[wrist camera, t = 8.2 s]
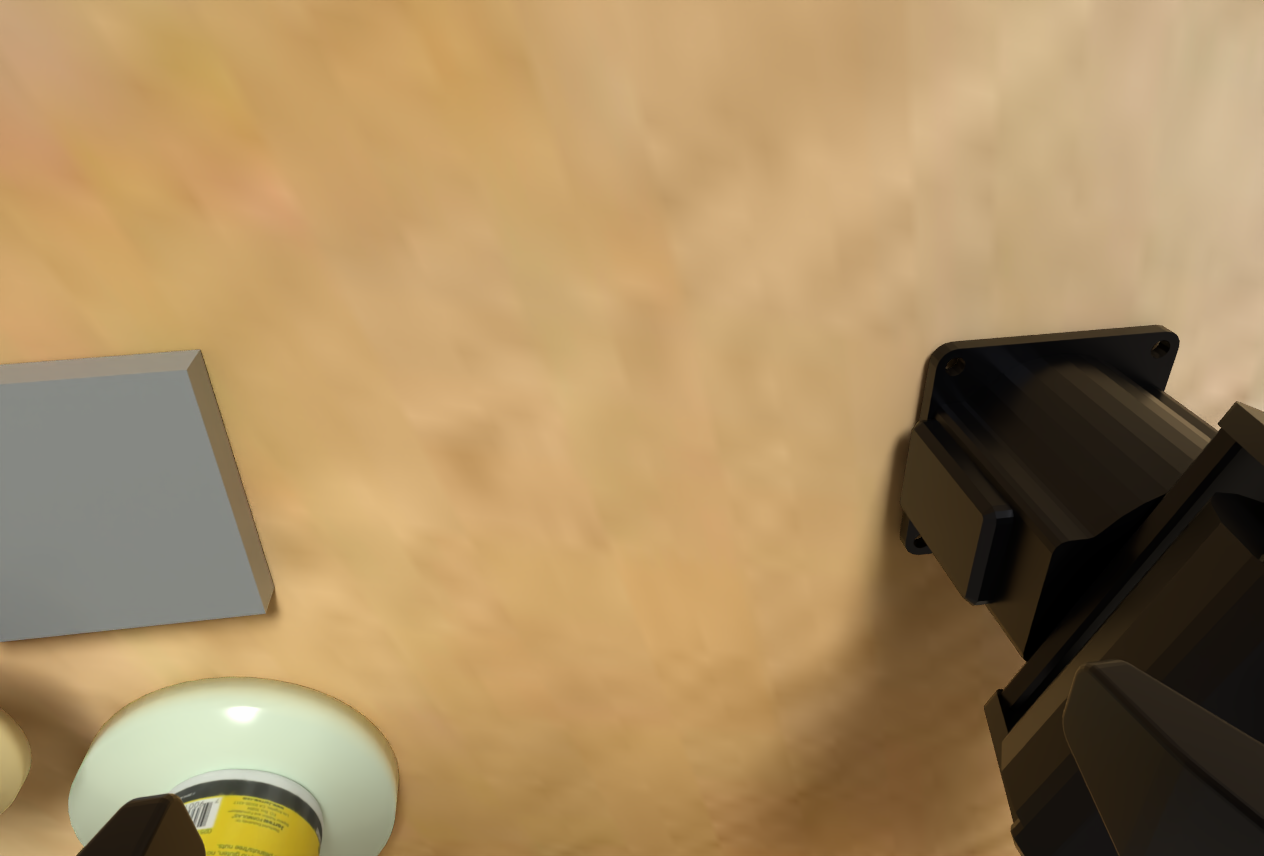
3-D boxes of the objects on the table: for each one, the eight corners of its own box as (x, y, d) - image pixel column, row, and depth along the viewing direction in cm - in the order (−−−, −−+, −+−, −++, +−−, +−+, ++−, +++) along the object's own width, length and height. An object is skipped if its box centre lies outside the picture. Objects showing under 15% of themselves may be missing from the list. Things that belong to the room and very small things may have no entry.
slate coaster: (200, 349, 19) (186, 369, 19) (274, 587, 23) (265, 613, 22) (-139, 375, 19) (-170, 397, 18) (-7, 616, 22) (-27, 645, 21)
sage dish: (371, 659, 25) (365, 692, 24) (418, 850, 29) (416, 883, 28) (37, 697, 24) (16, 733, 23) (140, 887, 28) (127, 924, 27)
